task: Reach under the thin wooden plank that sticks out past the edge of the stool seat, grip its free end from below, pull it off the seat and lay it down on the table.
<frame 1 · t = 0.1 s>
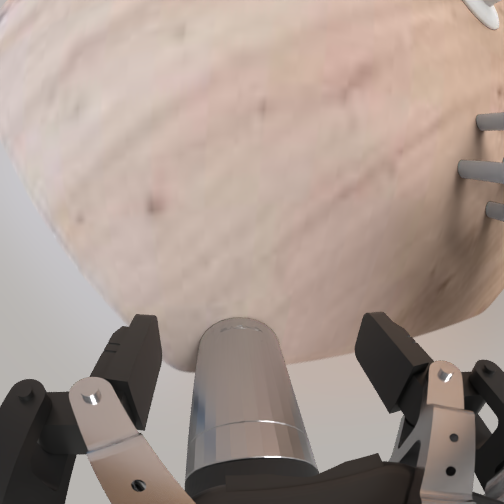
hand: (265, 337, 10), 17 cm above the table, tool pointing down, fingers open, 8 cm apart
stool: (487, 166, 27), on the table
candlestick: (475, 1, 18), on the table
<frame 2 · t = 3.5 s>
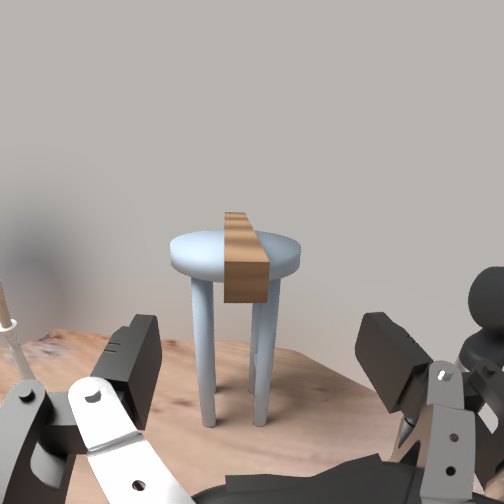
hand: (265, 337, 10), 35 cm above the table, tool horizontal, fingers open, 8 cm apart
thin wooden plank: (237, 254, 33), point 32 cm above the table, touching stool
stool: (233, 406, 47), on the table
candlestick: (56, 430, 32), on the table
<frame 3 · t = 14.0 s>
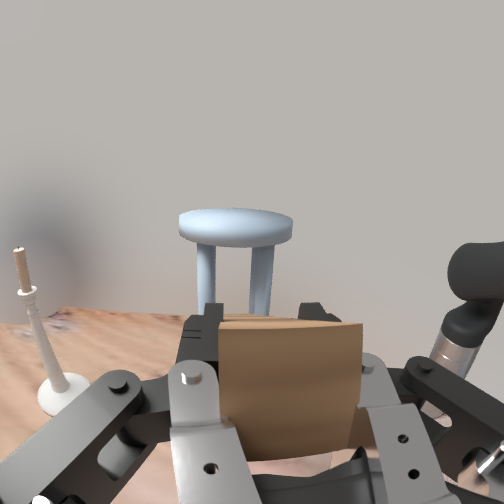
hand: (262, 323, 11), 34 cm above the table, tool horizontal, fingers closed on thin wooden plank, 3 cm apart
thin wooden plank: (246, 362, 18), point 27 cm above the table, tilted 29°, touching gripper
stool: (231, 372, 53), on the table
candlestick: (65, 396, 39), on the table
when the fingers open (15 cm above the table, at t = 17.7 s): thin wooden plank drops 9 cm, on the table.
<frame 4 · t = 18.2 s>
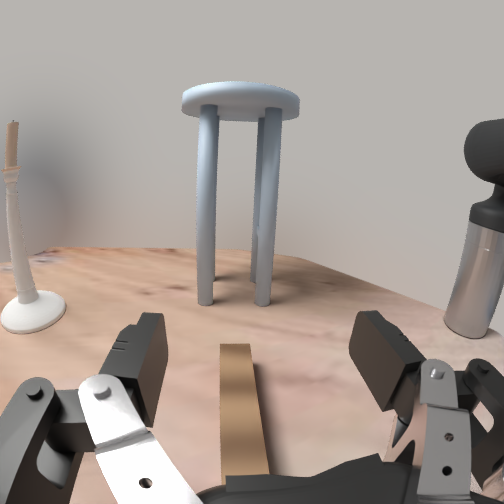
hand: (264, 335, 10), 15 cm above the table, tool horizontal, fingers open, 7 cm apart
thin wooden plank: (241, 462, 17), on the table
stool: (233, 290, 48), on the table
candlestick: (33, 313, 33), on the table
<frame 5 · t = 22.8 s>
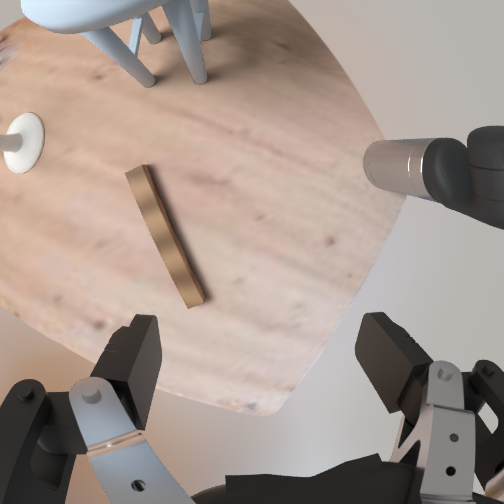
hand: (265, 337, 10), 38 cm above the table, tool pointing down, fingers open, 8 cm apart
thin wooden plank: (167, 236, 47), on the table
stool: (176, 57, 37), on the table
candlestick: (24, 142, 38), on the table
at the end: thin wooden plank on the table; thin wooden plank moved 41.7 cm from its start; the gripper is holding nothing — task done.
